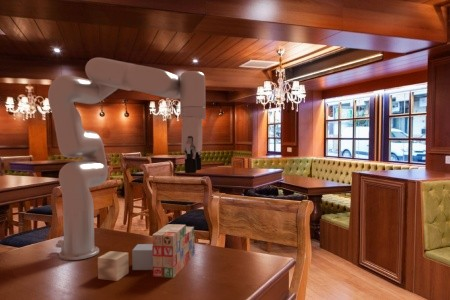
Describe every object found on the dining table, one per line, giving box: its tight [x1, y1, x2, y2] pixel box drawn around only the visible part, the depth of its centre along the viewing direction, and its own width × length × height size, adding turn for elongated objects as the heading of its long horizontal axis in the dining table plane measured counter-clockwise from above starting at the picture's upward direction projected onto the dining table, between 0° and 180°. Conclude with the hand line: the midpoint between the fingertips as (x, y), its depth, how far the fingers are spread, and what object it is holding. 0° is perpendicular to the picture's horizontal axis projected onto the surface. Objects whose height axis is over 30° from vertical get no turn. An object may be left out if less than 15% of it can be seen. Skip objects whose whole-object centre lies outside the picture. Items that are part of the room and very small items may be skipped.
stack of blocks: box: [151, 223, 196, 279], centre depth 107 cm, size 21×6×12 cm, turn 169°
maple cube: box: [97, 250, 130, 282], centre depth 99 cm, size 6×6×6 cm
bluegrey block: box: [131, 243, 153, 271], centre depth 106 cm, size 6×6×6 cm
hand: (193, 171), depth 103 cm, fingers open, 9 cm apart
